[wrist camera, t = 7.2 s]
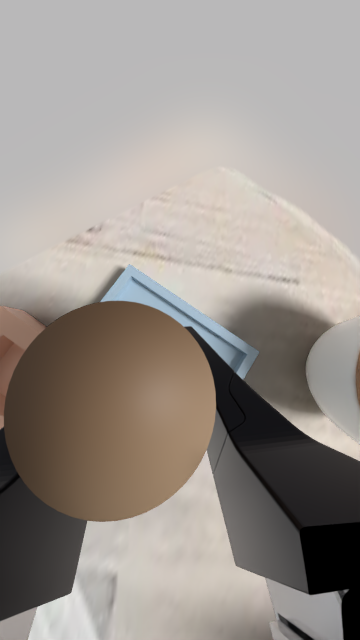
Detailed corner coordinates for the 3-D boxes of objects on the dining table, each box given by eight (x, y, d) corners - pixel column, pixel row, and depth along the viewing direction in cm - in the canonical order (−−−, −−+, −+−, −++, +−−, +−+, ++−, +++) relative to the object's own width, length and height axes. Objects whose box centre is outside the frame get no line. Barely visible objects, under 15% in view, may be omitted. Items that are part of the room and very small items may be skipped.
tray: (251, 351, 17) (259, 351, 15) (194, 445, 15) (197, 457, 14) (133, 271, 17) (129, 264, 16) (68, 356, 16) (56, 357, 14)
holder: (92, 359, 16) (80, 361, 14) (34, 438, 15) (10, 454, 13) (23, 310, 16) (0, 305, 14) (-39, 384, 15) (-74, 391, 13)
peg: (187, 359, 15) (256, 427, 3) (155, 382, 14) (73, 576, 2) (166, 328, 15) (143, 265, 3) (134, 350, 14) (-35, 375, 3)
